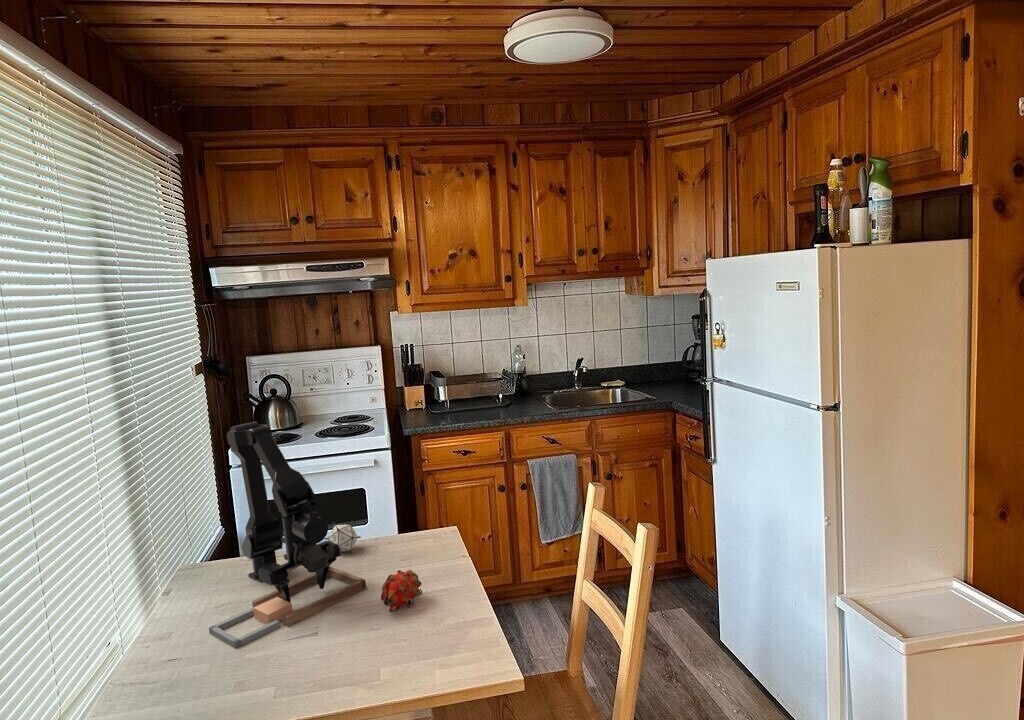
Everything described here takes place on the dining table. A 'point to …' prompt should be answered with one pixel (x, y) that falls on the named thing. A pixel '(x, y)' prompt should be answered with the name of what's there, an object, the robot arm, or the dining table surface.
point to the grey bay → (237, 642)
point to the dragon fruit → (401, 589)
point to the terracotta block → (272, 610)
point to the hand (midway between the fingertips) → (305, 596)
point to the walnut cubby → (353, 587)
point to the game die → (343, 537)
